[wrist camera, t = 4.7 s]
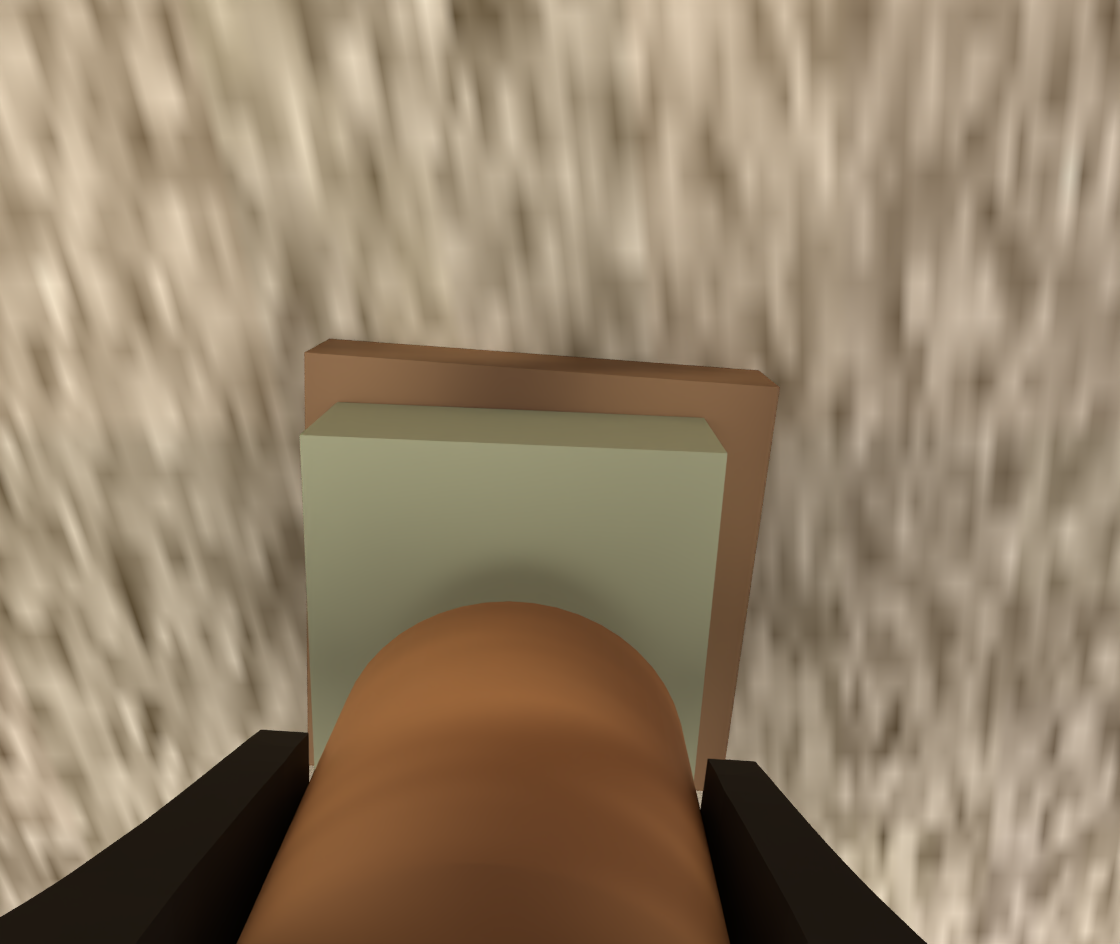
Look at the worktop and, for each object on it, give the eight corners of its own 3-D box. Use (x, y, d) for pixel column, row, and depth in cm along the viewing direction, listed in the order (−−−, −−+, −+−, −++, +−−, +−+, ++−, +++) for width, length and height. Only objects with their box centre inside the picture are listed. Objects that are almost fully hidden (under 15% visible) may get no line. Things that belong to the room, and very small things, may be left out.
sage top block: (703, 418, 17) (727, 453, 14) (674, 735, 19) (690, 813, 16) (337, 402, 17) (299, 435, 14) (347, 722, 19) (315, 798, 16)
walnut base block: (752, 365, 19) (779, 387, 17) (702, 727, 22) (720, 791, 19) (337, 335, 19) (304, 352, 17) (336, 703, 21) (307, 765, 19)
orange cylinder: (753, 706, 12) (870, 1020, 8) (571, 951, 14) (574, 1355, 9) (439, 537, 12) (351, 764, 7) (279, 812, 13) (109, 1165, 8)
